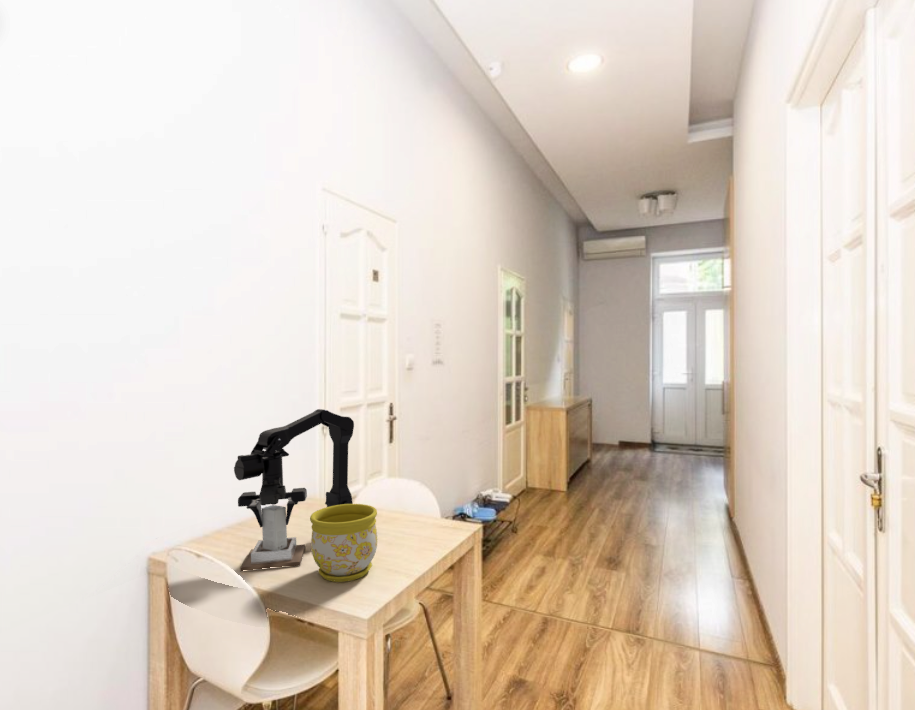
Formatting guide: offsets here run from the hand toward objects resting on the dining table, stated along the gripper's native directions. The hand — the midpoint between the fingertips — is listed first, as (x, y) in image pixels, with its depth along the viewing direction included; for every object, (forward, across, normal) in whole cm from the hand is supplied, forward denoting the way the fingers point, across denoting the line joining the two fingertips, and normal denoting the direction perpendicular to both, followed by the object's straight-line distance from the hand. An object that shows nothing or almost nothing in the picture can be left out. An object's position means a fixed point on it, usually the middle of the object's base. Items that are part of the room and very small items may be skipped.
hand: (274, 525), depth 151 cm
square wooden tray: (+10, 0, 0) cm, 10 cm away
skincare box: (+7, 0, 0) cm, 7 cm away
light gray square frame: (+9, 0, 0) cm, 9 cm away
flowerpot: (+10, +21, -15) cm, 28 cm away
